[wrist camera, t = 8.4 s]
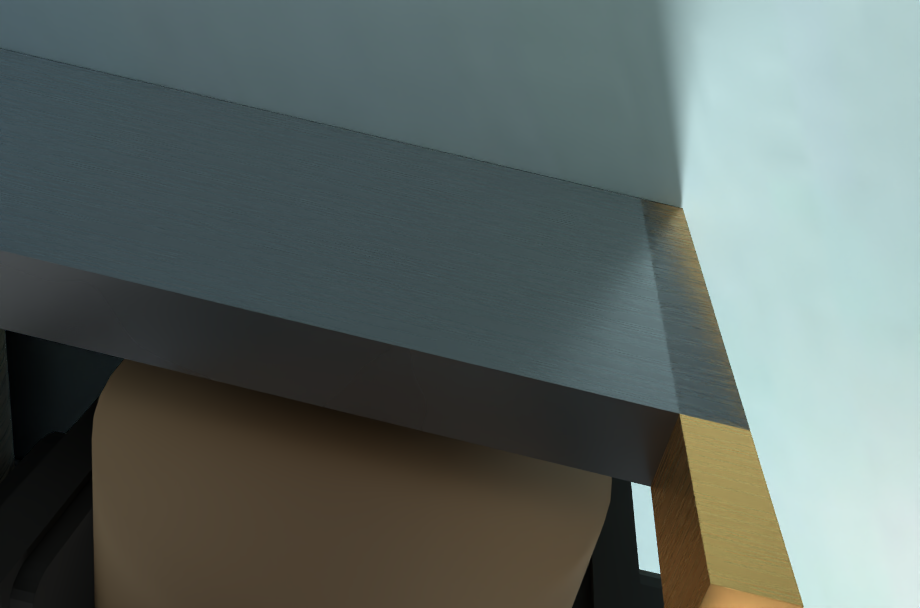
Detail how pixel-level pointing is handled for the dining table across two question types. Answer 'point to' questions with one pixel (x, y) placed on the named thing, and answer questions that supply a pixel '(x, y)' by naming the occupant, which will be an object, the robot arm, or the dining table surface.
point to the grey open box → (386, 297)
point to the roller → (320, 507)
